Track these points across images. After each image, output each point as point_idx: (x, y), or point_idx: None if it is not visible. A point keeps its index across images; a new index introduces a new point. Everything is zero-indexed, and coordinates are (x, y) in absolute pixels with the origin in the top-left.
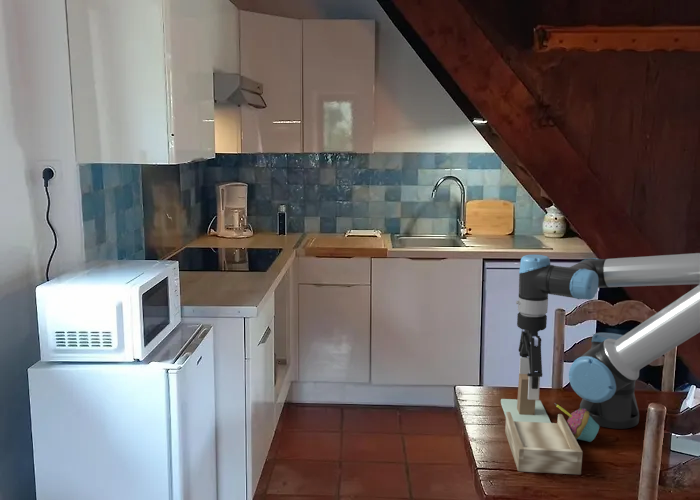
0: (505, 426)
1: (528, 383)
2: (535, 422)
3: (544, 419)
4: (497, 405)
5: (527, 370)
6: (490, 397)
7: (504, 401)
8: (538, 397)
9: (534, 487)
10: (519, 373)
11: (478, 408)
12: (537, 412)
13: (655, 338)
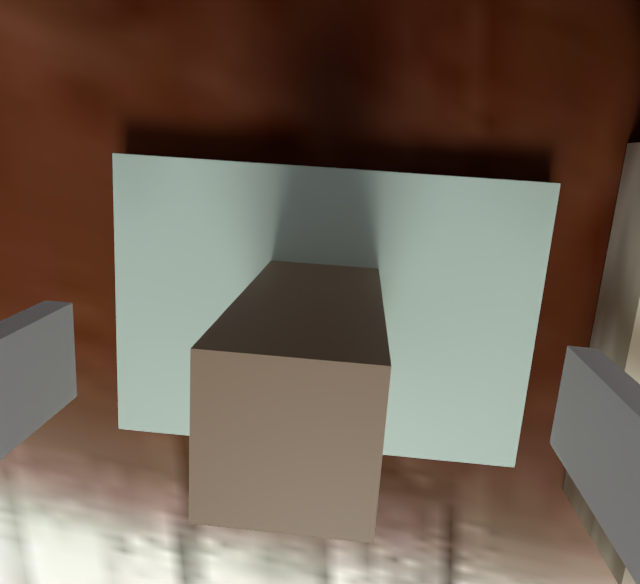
0: (578, 512)
1: (620, 552)
2: (635, 343)
3: (453, 215)
4: (174, 444)
5: (5, 364)
6: (53, 458)
7: (162, 417)
8: (610, 363)
9: None
10: (28, 428)
11: (230, 560)
12: (333, 234)
13: None
